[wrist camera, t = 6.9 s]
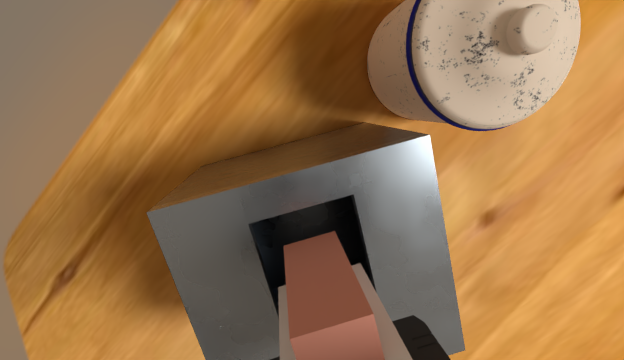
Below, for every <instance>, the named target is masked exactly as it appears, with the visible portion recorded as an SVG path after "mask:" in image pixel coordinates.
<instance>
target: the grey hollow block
mask: <svg viewBox="0 0 624 360" xmlns="http://www.w3.org/2000/svg"><path fill="white" fill-rule="evenodd" d="M147 215H148V218H149V220H150V223H151V225H152V228H153V230H154V232H155V235H156V237H157V240H158V242H159V245H160V247H161V250H162V252H163V255H164V257H165V260H166V262H167V265H168V267H169V270H170V272H171V275H172V277H173V280H174V282H175V285H176V287H177V290H178V292H179V294H180V297H181V299H182V302H183V304H184V307H185V309H186V312H187V314H188V317H189V319H190V322H191V324H192V327H193V329H194V332H195V334H196V337H197V339H198V342H199V344H200V347H201V349H202V352H203V354H204V357H205V359H206V360H270V359H273V358H276V357H279V356H280V345H279V300H278V287H280V286H284V285H286V276H285V261H284V245H288V244H291V243H295V242H298V241H302V240H305V239H309V238H312V237H316V236H319V235H322V234H326V233H329V232H333V231H335V232H336V235H337V237H338V239H339V241H340V243H341V245H342V247H343V249H344V252H345V254H346V256H347V258H348V260H349V262H350V264H351V266H352V265H356V264H359V263H361V265H362V267H363V269H364V271H365V273H366V274H367V276H368V278H369V280H370V282H371V284H372V286H373V287H374V289H375V291H376V293H377V295H378V297H379V298H380V300H381V302H382V304H383V306H384V308H385V310H386V311H387V313H388V315H389V317H390V319H391V321H395V320H398V319H402V318H405V317H408V316H412V315H414V316H416V317H417V318H419V319H420V320H422V321H423V322H425V323H426V325H427V326H428V328H429V329H430V331H431V332H432V334H433V335H434V336H435V338H436V339H437V341H438V343H439V344H440V345H441V347H442V348H443V349H444V351H445V352H446V354H447V355H451V354H454V353H457V352H461V351H464V350H465V346H464V340H463V334H462V328H461V321H460V315H459V309H458V303H457V297H456V291H455V285H454V279H453V273H452V267H451V261H450V255H449V249H448V243H447V236H446V230H445V224H444V218H443V212H442V206H441V200H440V194H439V188H438V182H437V176H436V170H435V164H434V158H433V151H432V145H431V139H430V135H428V134H423V133H418V132H412V131H407V130H402V129H397V128H392V127H386V126H381V125H376V124H371V123H366V122H364V123H361V124H357V125H353V126H350V127H346V128H342V129H339V130H335V131H331V132H327V133H324V134H320V135H316V136H313V137H309V138H305V139H301V140H298V141H294V142H290V143H287V144H283V145H279V146H275V147H272V148H268V149H264V150H261V151H257V152H253V153H249V154H246V155H242V156H238V157H235V158H231V159H227V160H223V161H220V162H216V163H212V164H209V165H205V166H201V167H200V168H199V169H198V170H196V171H195V172H194V173H193V174H192V175H190V176H189V177H188V178H187V179H186V180H185V181H183V182H182V183H181V184H180V185H179V186H177V187H176V188H175V189H174V190H173V191H171V192H170V193H169V194H168V195H167V196H166V197H164V198H163V199H162V200H161V201H160V202H158V203H157V204H156V205H155V206H154V207H152V208H151V209H150V210H149V211H148V212H147Z"/></svg>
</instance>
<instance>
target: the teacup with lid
mask: <svg viewBox="0 0 624 360" xmlns="http://www.w3.org/2000/svg"><path fill="white" fill-rule="evenodd" d="M580 21H581V19H580V9H579V3H578V0H405V1H404V2H402V3H401V4H400V5H399V6H397V7H396V8H395V9H394V10H392V11H391V12H390V13H389V14H388V15H387V16H386V17H385V18H384V19H383V20H382V22H381V23H380V24H379V26H378V27H377V29H376V31H375V33H374V35H373V37H372V39H371V42H370V46H369V50H368V57H367V70H368V76H369V80H370V84H371V86H372V89H373V91H374V93H375V94H376V96H377V98H378V99H379V100H380V102H381V103H382V104H383V105H384V106H385V107H386V108H387V109H389V110H390V111H391V112H393V113H395V114H397V115H399V116H401V117H404V118H407V119H412V120H421V121H431V122H440V123H449V124H451V125H453V126H456V127H459V128H462V129H466V130H473V131H489V130H496V129H501V128H504V127H507V126H510V125H512V124H515V123H517V122H519V121H521V120H523V119H525V118H527V117H529V116H530V115H532V114H533V113H535V112H536V111H537V110H538V109H540V108H541V107H542V106H543V105H544V104H545V103H546V102H548V101H549V100H550V99H551V97H552V96H553V95H554V94H555V93H556V92H557V90H558V89H559V88H560V86H561V85H562V83H563V82H564V80H565V78H566V77H567V75H568V73H569V71H570V69H571V66H572V64H573V61H574V58H575V55H576V52H577V48H578V44H579V38H580Z"/></svg>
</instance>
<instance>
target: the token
mask: <svg viewBox="0 0 624 360" xmlns="http://www.w3.org/2000/svg"><path fill="white" fill-rule="evenodd" d="M284 261H285V276H286V292H287V307H288V322H289V337H290V342H291V345H292V348H293V351H294V354H295V357H296V360H385V359H384V354H383V350H382V346H381V342H380V338H379V334H378V330H377V325H376V321H375V317H374V313H373V311H372V309H371V307H370V305H369V303H368V301H367V299H366V296H365V294H364V292H363V290H362V288H361V286H360V284H359V281H358V279H357V277H356V275H355V273H354V271H353V269H352V267H351V264H350V262H349V260H348V258H347V256H346V254H345V252H344V249H343V247H342V245H341V243H340V241H339V239H338V237H337V235H336V232H335V231H333V232H329V233H326V234H322V235H319V236H316V237H312V238H309V239H305V240H302V241H298V242H295V243H291V244H288V245H284Z"/></svg>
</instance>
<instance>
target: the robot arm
mask: <svg viewBox="0 0 624 360" xmlns="http://www.w3.org/2000/svg"><path fill="white" fill-rule="evenodd" d="M351 267H352V269H353V271H354V273H355V275H356V277H357V279H358V281H359V284H360V286H361V288H362V290H363V292H364V294H365V296H366V299H367V301H368V303H369V305H370V307H371V309H372V311H373V313H374V317H375V321H376V325H377V330H378V334H379V338H380V342H381V346H382V350H383V354H384V359H385V360H450V358H449V357H448V355H447V354H446V352H445V351H444V349H443V348H442V347H441V345H440V344H439V343H438V341H437V339H436V338H435V336H434V335H433V334H432V332H431V331H430V329H429V328H428V326H427V325H426V323H425V322H423V321H422V320H420V319H419V318H417V317H416V316H414V315H412V316H408V317H405V318H402V319H398V320H395V321H391V319H390V317H389V315H388V313H387V311H386V310H385V308H384V306H383V304H382V302H381V300H380V298H379V297H378V295H377V293H376V291H375V289H374V287H373V286H372V284H371V282H370V280H369V278H368V276H367V274H366V273H365V271H364V269H363V267H362V265H361V263H359V264H356V265H352V266H351ZM278 300H279V345H280V356H279V357H276V358H273V359H270V360H296V357H295V354H294V351H293V348H292V345H291V342H290V337H289V322H288V307H287V292H286V285H284V286H280V287H278Z"/></svg>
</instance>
